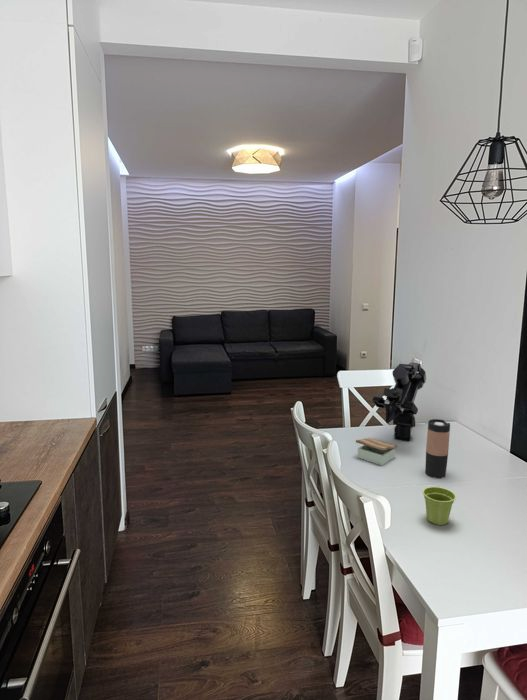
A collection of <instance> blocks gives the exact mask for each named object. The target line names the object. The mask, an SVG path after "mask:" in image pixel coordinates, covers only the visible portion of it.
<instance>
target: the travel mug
mask: <svg viewBox="0 0 527 700" xmlns="http://www.w3.org/2000/svg"><path fill="white" fill-rule="evenodd" d="M450 430H451V423H450V422H446V421H445V420H444V419H437V418H436V419H435V418H434V419H429V420H428V424H427V436H426V444H425V445H426V447H425V466H424V467H425V468H424V470H425V471H424V472H425V474H426V475H427V477H430V476H431V477H430V478H433V477H435V478H434V479H443V478H446V473H447V467H448V460H449V459H448V457H449V447H450V435H451V434H450ZM442 477H443V478H442Z"/></svg>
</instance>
